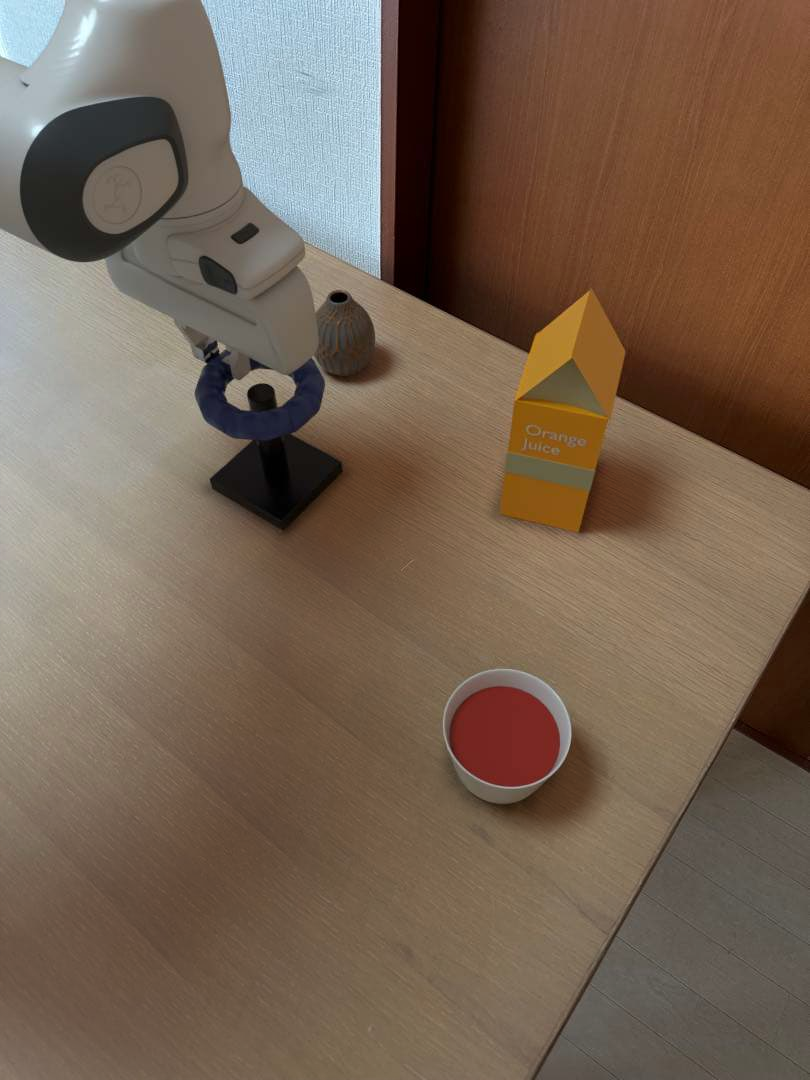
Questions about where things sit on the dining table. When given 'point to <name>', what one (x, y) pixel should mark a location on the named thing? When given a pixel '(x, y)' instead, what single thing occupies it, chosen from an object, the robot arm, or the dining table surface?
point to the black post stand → (275, 471)
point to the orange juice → (562, 416)
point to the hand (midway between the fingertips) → (223, 365)
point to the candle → (505, 734)
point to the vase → (343, 335)
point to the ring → (256, 422)
